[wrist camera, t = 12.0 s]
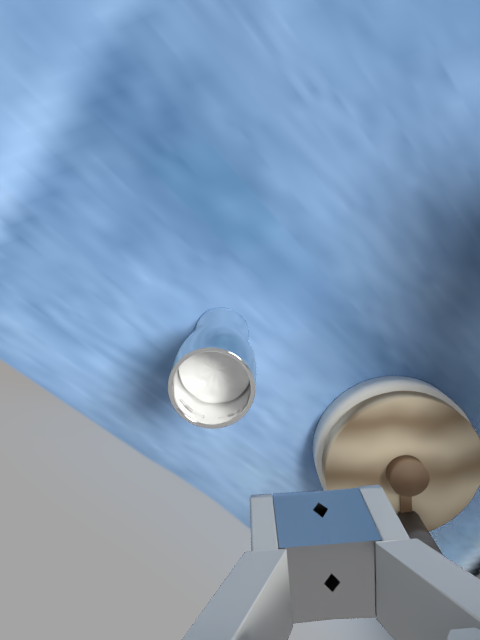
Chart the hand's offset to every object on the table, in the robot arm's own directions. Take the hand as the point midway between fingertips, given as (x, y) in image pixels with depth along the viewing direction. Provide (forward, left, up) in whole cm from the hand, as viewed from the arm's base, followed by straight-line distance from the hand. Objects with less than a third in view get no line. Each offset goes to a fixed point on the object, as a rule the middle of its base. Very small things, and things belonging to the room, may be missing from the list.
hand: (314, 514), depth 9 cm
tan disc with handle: (-15, +20, -31) cm, 40 cm away
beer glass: (+4, +5, -34) cm, 35 cm away
